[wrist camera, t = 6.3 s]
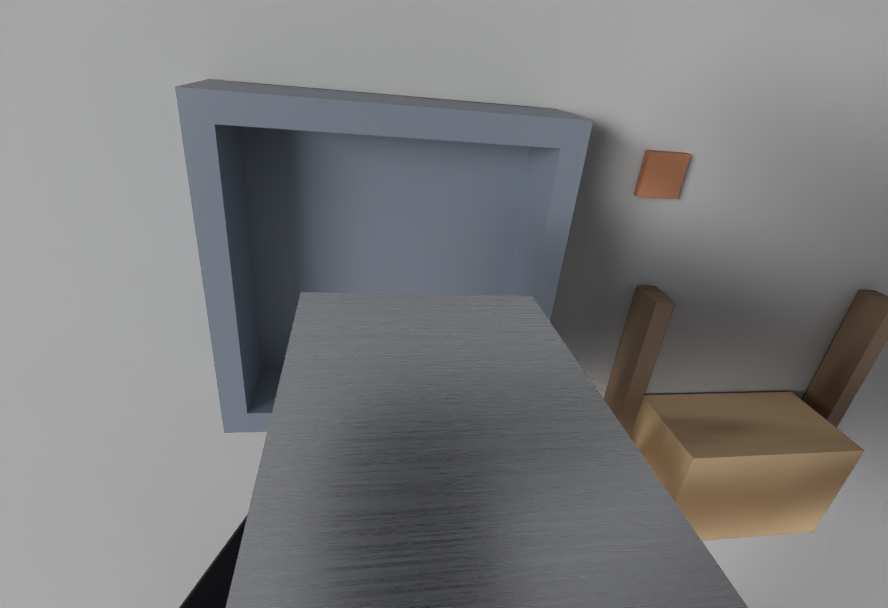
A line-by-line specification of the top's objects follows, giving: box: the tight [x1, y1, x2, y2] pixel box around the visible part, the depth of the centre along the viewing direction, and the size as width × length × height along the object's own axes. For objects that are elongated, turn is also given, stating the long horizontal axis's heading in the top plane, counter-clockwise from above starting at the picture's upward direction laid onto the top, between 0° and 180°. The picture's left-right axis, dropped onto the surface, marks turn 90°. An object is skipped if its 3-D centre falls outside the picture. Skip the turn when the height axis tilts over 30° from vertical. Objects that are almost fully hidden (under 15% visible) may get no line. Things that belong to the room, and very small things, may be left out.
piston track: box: [604, 150, 888, 437], centre depth 22 cm, size 17×13×2 cm
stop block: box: [226, 292, 748, 608], centre depth 7 cm, size 6×4×7 cm, turn 175°
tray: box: [175, 79, 593, 433], centre depth 17 cm, size 11×11×3 cm
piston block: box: [630, 392, 864, 541], centre depth 23 cm, size 5×8×4 cm, turn 85°
